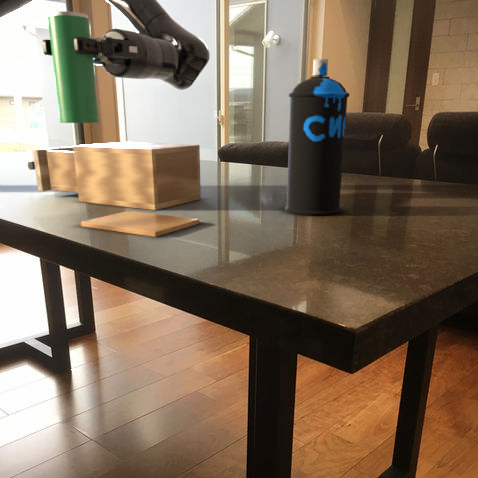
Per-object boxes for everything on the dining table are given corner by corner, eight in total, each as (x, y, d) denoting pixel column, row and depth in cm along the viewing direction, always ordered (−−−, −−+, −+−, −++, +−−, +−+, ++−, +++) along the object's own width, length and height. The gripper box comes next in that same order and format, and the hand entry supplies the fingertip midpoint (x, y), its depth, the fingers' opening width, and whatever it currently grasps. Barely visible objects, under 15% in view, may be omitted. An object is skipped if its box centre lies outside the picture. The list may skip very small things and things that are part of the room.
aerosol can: (274, 208, 78) (278, 60, 71) (319, 204, 82) (327, 63, 74) (305, 217, 71) (313, 55, 64) (352, 212, 75) (365, 58, 67)
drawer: (21, 189, 91) (15, 148, 88) (69, 182, 99) (64, 145, 97) (100, 197, 82) (96, 152, 79) (145, 189, 91) (142, 148, 88)
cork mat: (80, 226, 66) (80, 221, 65) (128, 215, 73) (128, 210, 73) (155, 237, 60) (155, 232, 60) (199, 223, 67) (199, 219, 67)
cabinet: (79, 201, 84) (72, 145, 81) (129, 192, 93) (125, 142, 90) (155, 210, 77) (151, 149, 73) (201, 199, 86) (199, 144, 83)
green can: (51, 122, 84) (38, 13, 79) (80, 121, 89) (69, 19, 84) (79, 123, 82) (67, 9, 76) (106, 122, 87) (97, 16, 81)
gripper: (100, 34, 95) (24, 21, 81) (163, 28, 88) (91, 13, 75) (104, 79, 98) (31, 74, 84) (165, 77, 91) (97, 71, 77)
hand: (60, 46), depth 79 cm, fingers closed on green can, 6 cm apart
